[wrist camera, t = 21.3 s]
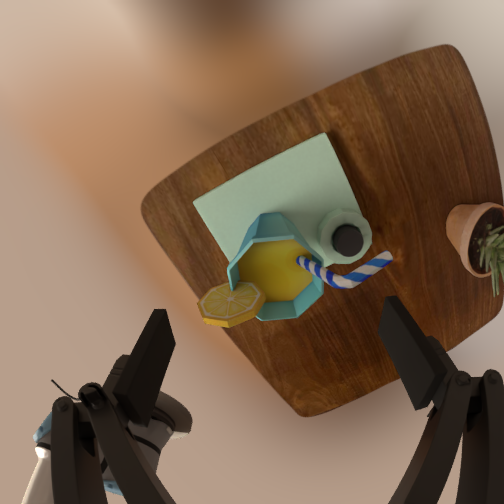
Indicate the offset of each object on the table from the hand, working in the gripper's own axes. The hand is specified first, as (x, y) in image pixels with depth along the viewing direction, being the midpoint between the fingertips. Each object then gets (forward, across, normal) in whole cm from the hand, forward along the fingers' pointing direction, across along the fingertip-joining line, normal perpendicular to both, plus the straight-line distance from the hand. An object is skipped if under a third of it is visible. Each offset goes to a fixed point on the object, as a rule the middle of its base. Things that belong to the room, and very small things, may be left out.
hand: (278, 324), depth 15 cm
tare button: (+14, +8, 0) cm, 17 cm away
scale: (+17, +2, +1) cm, 17 cm away
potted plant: (+17, +27, 0) cm, 32 cm away
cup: (+16, +1, 0) cm, 16 cm away
